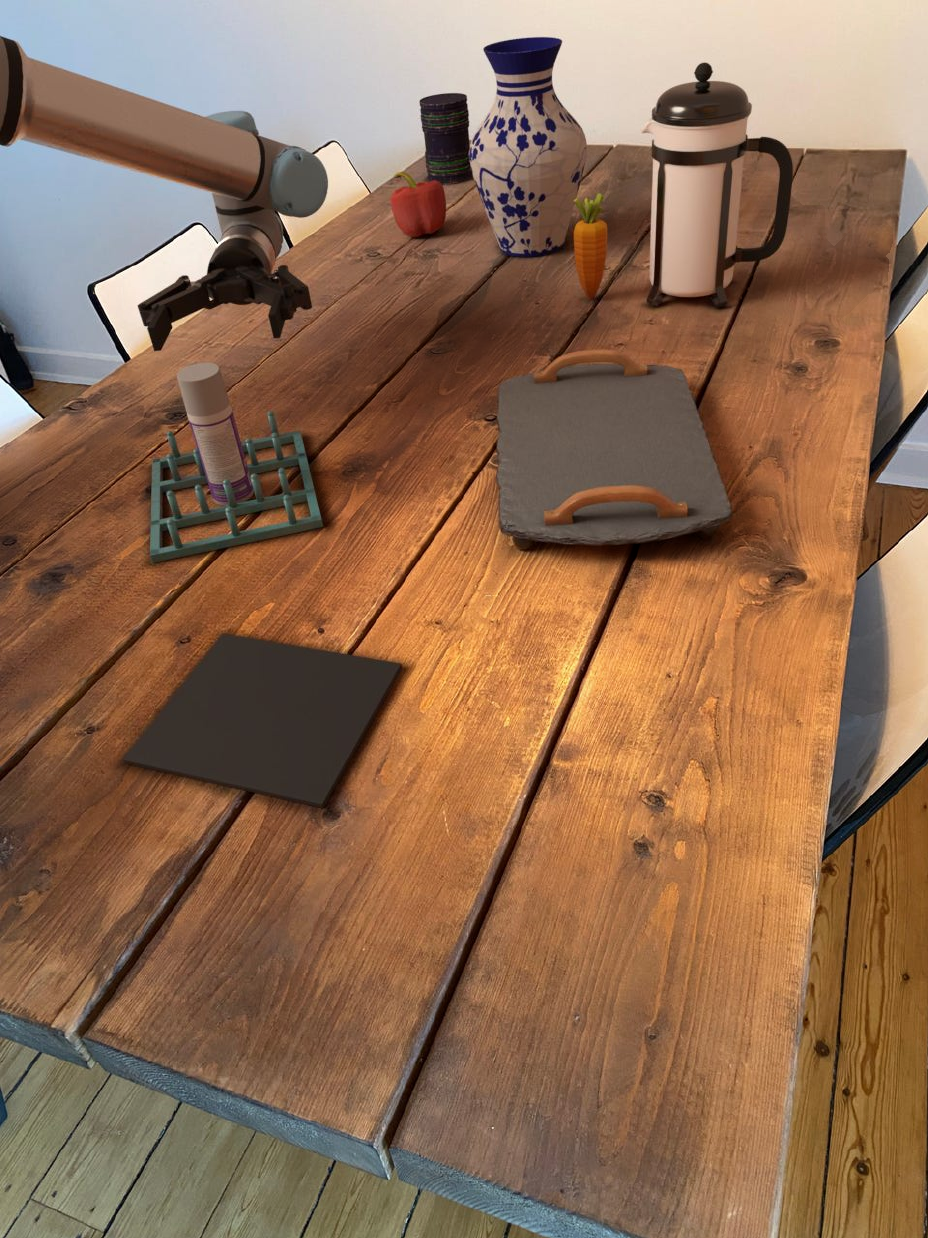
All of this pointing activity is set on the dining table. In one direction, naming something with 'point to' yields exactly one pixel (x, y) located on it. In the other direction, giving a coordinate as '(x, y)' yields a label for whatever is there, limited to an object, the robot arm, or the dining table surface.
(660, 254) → the coffee press
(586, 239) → the carrot
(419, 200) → the vegetable
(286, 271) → the robot arm
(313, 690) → the mat
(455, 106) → the storage jar
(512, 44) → the vase
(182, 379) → the container
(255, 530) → the dish rack
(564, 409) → the serving tray
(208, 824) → the dining table surface
